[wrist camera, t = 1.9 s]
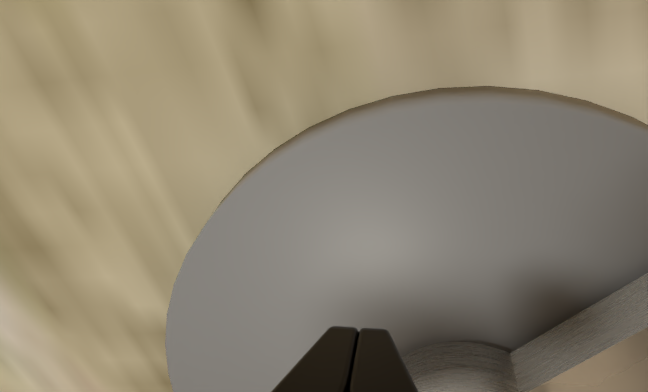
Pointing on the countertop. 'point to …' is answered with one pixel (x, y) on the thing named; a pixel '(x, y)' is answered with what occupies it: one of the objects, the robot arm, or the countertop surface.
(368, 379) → the robot arm
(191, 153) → the countertop surface
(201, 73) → the countertop surface
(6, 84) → the countertop surface
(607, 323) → the silver dumbbell
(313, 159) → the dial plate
